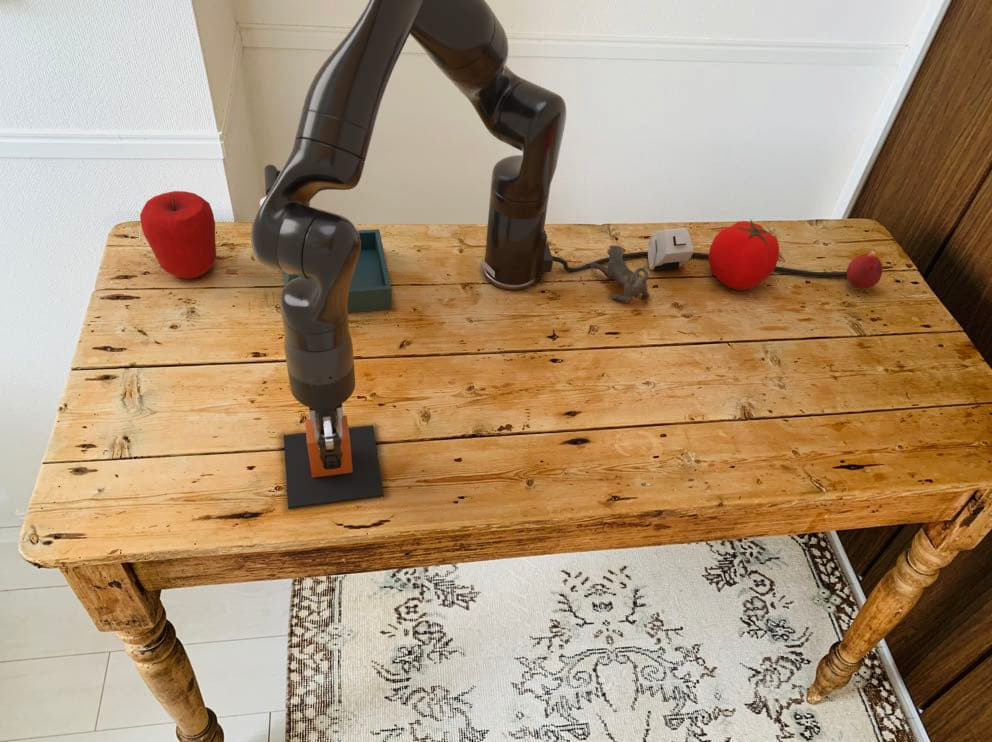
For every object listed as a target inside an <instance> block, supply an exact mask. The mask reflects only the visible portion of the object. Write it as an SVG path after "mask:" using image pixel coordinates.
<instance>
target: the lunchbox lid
mask: <svg viewBox="0 0 992 742" xmlns="http://www.w3.org/2000/svg"><path fill="white" fill-rule="evenodd" d="M263 170H264V189H265V190H264V191H265V195H266V196H267V195H268V193H269V192H270V190H271V189H272V187H273V185H274V183H275V182H276V180H277V178H278V176H279V174H280V172H281V170H279V169H278V168H277V167H276V166H275V165H274V164H267V165H266V166H265V167H264V169H263ZM307 206H311V201H310V202H309V203H308V204H307ZM293 279H294V275H292V274H288V273H285V272H283V280H284V281H283V282H284V286H285V285H286V284H287V283H288V282H290V281H291V280H293Z"/></svg>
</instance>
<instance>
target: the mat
mask: <svg viewBox="0 0 992 742" xmlns="http://www.w3.org/2000/svg"><path fill="white" fill-rule="evenodd" d="M348 429H349V436H350V446H351V458H352V470H353V473H345V474H337V475H330V476H322V477H314V478H312V473H311V466H310V459H309V453H308V446H307V436H306V432H299V433H292V434H291V433H289V434H283V448H284V463H285V479H286V496H287V509H297V508H304V507H312V506H319V505H329V504H334V503H341V502H343V503H344V502H350V501H357V500H363V499H364V500H366V499H372V498H379V497H384V496H385V493H384V487H383V480H382V475H381V474H382V473H381V468H380V463H379V461H380V460H379V456H378V455H379V454H378V449H377V442H376V436H375V430H374V424H371V425H370V424H369V425H361V426H352V427H348Z"/></svg>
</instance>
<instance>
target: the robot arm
mask: <svg viewBox="0 0 992 742" xmlns="http://www.w3.org/2000/svg"><path fill="white" fill-rule="evenodd" d="M409 36H411V37H412V38H413V40H414V41H415V42H416V43H417V44H418V45H419V46H420V47H421V48H422V49H423V51H424V52H425V53H426V55H427V56H428V58H429V59H430V61H432V62H433V64H434V65H435V66H436V67H437V68H438V69H439V70H440V72H442V74H444V76H445V77H446V78H448V80H449V81H451V83H452V84H453V85H454V86H455V88H457V89H458V91H460V93H461V94H462V95H463V96H464V97H466V98H467V100H468V101H469V102H470V104H471V106H472V107H473V109H474V110H475V112H476V113H477V116H479V119H480V120H481V122H482V123H483V125H484V127H485V128H486V129H487V131H488V132H489V133H490V134H491V135H492V136H493V137H494V138H495V139H496V140H498V141H500V142H502V143H504V144H507V145H509V146H511V147H512V148H514V149H516V150H519V151H521V152H522V154H516V155H510V156H507V157H504V158H501V159H500V160H499V161H497V162H496V163H495V164H494V165H493V168H492V172H491V182H490V191H489V192H490V193H489V204H488V205H489V206H488V218H487V228H486V240H485V241H486V242H485V252H484V253H485V254H484V259H481V266H482V267H483V269H482V270H483V276H484V278H485V279H486V280H487V281H488V282H489V283H490V284H491V285H493V286H495V287H498V288H500V289H503V290H509V291H518V290H524V289H527V288H529V287H531V286H532V285H534V284H536V283H540V282H541V280H542V274H543V273H552V270H553V264H554V262H555V263H559V264H561V265H562V267H563V269H564V271H565V272H567V273H577V272H581V271H585V270H589V269H593V268H592V267H591V266H590V265H591V264H593V263H594V262H595V263H598V264H600V265H602V264H606V263H609V256H608V257H604V258H600V259H597V260H595V261H593V262H590V263H588V264H586V265H583V266H580V267H570V266H569V265H568V262H567V261H566V260H565V259H563V258H562V257H559V256H554V255H552V251H551V248H550V245H549V243H548V242H547V240H548V235H547V232H546V229H545V225H546V218H547V212H548V206H549V205H548V204H549V199H550V198H549V197H550V192H551V191H550V190H551V185H552V182H553V178H554V176H555V173H556V170H557V167H558V161H559V156H560V151H561V146H562V141H563V137H564V132H565V128H566V122H567V105H566V101H565V99H564V98H563V97H562V96H561V95H560V94H558V93H556V92H553V90H552V91H551V90H549V89H547V88H545V87H543V86H541V85H538V84H537V83H534V82H531V81H529V80H527V79H525V78H522V77H520V76H519V75H517V74H516V73H514V72H513V71H512V70H511V69H510V68H509V67H508V65H507V62H508V59H509V50H510V47H509V39H508V36H507V33H506V31H505V29H504V27H503V25H502V23H501V22H500V20H499V19H498V17H497V16H496V14H495V12H494V11H493V10H492V8H491V7H490V5H489V4H488V2H487V1H486V0H368V3H367V4H366V6H365V9H364V10H363V12H362V13H361V15H360V16H359V18H358V19H357V21H356V22H355V24H353V27H352V28H351V29H350V30H349V32H348V33H347V34H346V35H345V37H344V38H343V39H342V40H341V42H340V43H339V44H338V45H337V47H335V49H334V50H333V51H332V53H331V54H330V55H329V56H328V57H327V58H326V60H325V61H324V62H323V63H322V64H321V66H319V69H318V70H317V72H316V74H315V75H314V77H313V79H312V80H311V83H310V84H309V87H308V90H307V92H306V95H305V98H304V101H303V104H302V107H301V112H300V117H299V121H298V124H297V127H296V132H295V135H294V139H293V144H292V148H291V151H290V153H289V155H288V156H287V159H286V161H285V163H284V165H283V167H282V168H281V170H280V171H281V172H280V174H279V176H278V178H277V180H276V182H275V183H274V185H273V187H272V189H271V190H270V192H269V193H268V195H266V196H265V197H266V198H265V200H264V202H263V203H262V205H261V207H260V206H259V208H258V211H257V212H256V214H255V216H254V220H253V222H252V225H251V234H250V242H251V247H252V251H253V254H254V256H255V258H256V259H257V261H258V262H259V263H260V264H261V265H262V266H264V267H266V268H268V269H272V270H275V271H278V272H282V273H284V272H285V273H288V274H292V275H295V276H299V277H298V278H295V279H293V280H291V281H290V282H288V283H287V284H286V285H285V284H284V286H283V287H282V290H281V292H280V295H279V296H280V297H279V308H280V313H281V314H280V315H281V321H282V327H283V334H284V339H283V340H284V341H283V348H284V349H283V350H284V356H285V361H286V368H287V369H286V370H287V375H288V381H289V388H290V392H291V394H292V396H293V397H294V399H295V400H296V401H297V402H298V403H299V404H301V405H303V406H305V407H308V412H309V414H308V415H309V419H310V420H311V421H312V422H313V429H314V437H315V439H316V440H318V441H317V443H318V445H319V451H320V459H321V462H323V467H324V469H327V470H329V469H337V468H340V467H341V459H342V458H341V456H342V452H341V445H340V443H341V437H342V436H343V429H342V418H343V416H344V410H343V404H344V403H345V402H346V401H347V400H349V399H350V398H351V396H352V395H353V393H354V391H355V388H356V375H355V359H354V345H353V339H352V334H351V332H350V321H349V313H348V308H347V303H348V296H349V290H350V285H351V281H352V277H353V274H354V271H355V268H356V265H357V262H358V258H359V255H360V250H361V240H360V236H359V233H358V231H357V230H358V229H357V227H356V225H355V224H354V222H353V221H352V220H351V219H349V218H347V216H345V215H342V214H339V213H335V212H333V211H329V210H328V211H327V210H324V209H320V208H317V207H313V206H311V205H309V206H307V204H308V203H309V202H310V203H311V200H312V199H313V198H314V197H315V196H316V195H317V194H319V192H321V191H327V190H329V191H330V190H332V191H333V190H336V191H347V190H349V191H350V190H351V189H352V190H353V189H354V188H356V187H357V186H358V185H359V182H360V180H361V178H362V175H363V172H364V169H365V164H366V163H365V162H366V161H367V156H368V154H369V153H368V152H369V149H370V145H371V141H372V138H373V133H374V129H375V126H376V121H377V117H378V114H379V110H380V108H381V104H382V101H383V98H384V96H385V93H386V89H387V87H388V84H389V81H390V79H391V77H392V74H393V71H394V70H395V67H396V64H397V63H398V60H399V58H400V56H401V54H402V51H403V49H404V47H405V45H406V43H407V40H408V38H409ZM708 256H709V253H703V252H695V251H694V252H693V254H692V256H691V257H690V258H699V259H700V258H701V259H708ZM638 257H648V251H638V252H630V253H624V255H623V257H622V258H623V260H625V259H631V258H638ZM773 271H776V272H781V273H786V274H787V273H788V274H793V275H801V276H808V277H819V278H820V277H821V278H848V277H847V272H822V271H821V272H820V271H811V270H810V271H809V270H803V269H795V268H790V267H783V266H778V265H776V268H775V269H774V270H773ZM336 416H337V419H336ZM317 421H318V425H317ZM337 423H338V425H337ZM336 425H337V427H336ZM318 426H319V428H321V429H319V428H318Z"/></svg>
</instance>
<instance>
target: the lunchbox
mask: <svg viewBox="0 0 992 742" xmlns="http://www.w3.org/2000/svg"><path fill="white" fill-rule="evenodd" d="M357 231H358V233H359V236H360V240H361V250H360V255H359V258H358V262H357V265H356V268H355V271H354V274H353V277H352V281H351V285H350V290H349V296H348V303H347V308H348V314H349V313H361V312H372V311H386V310H392V309H393V306H392V305H393V304H392V302H393V301H392V285H391V279H390V275H389V269H388V266H387V261H386V260H387V259H386V256H385V251H384V246H383V242H382V236H381V231H380V229H379V228H376V229H375V228H374V229H360V230H359V229H357ZM298 277H299V276H295V275H294V279H295V278H298Z"/></svg>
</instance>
